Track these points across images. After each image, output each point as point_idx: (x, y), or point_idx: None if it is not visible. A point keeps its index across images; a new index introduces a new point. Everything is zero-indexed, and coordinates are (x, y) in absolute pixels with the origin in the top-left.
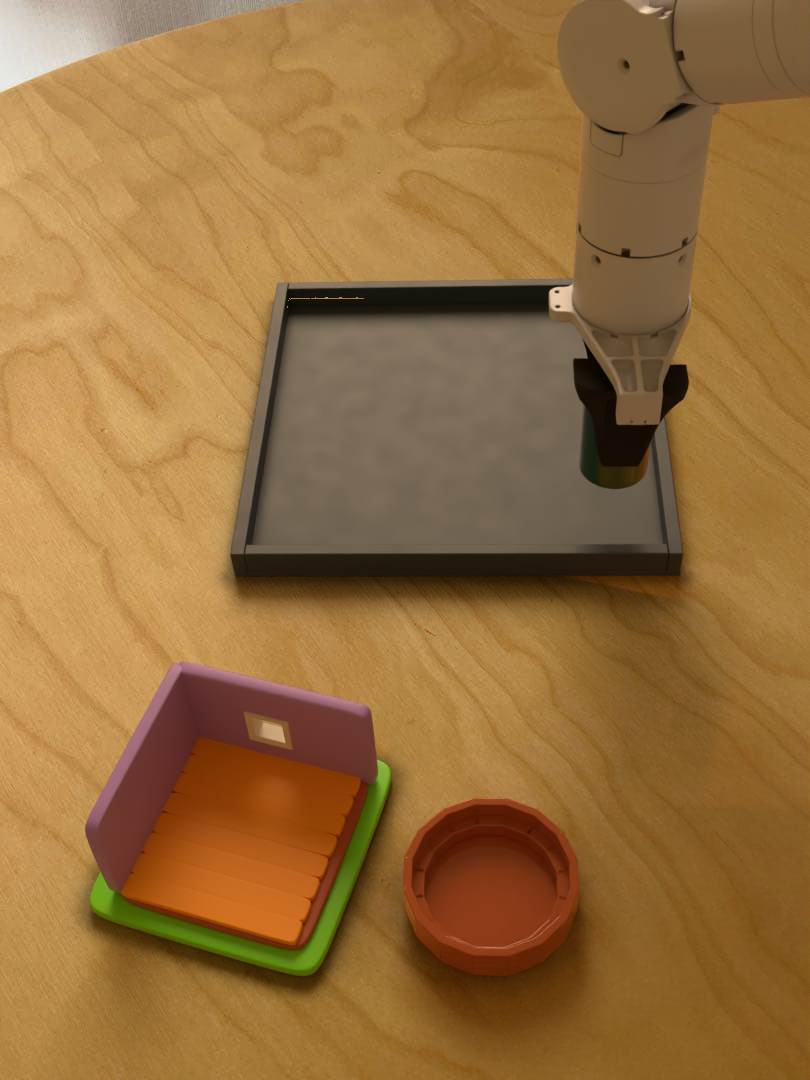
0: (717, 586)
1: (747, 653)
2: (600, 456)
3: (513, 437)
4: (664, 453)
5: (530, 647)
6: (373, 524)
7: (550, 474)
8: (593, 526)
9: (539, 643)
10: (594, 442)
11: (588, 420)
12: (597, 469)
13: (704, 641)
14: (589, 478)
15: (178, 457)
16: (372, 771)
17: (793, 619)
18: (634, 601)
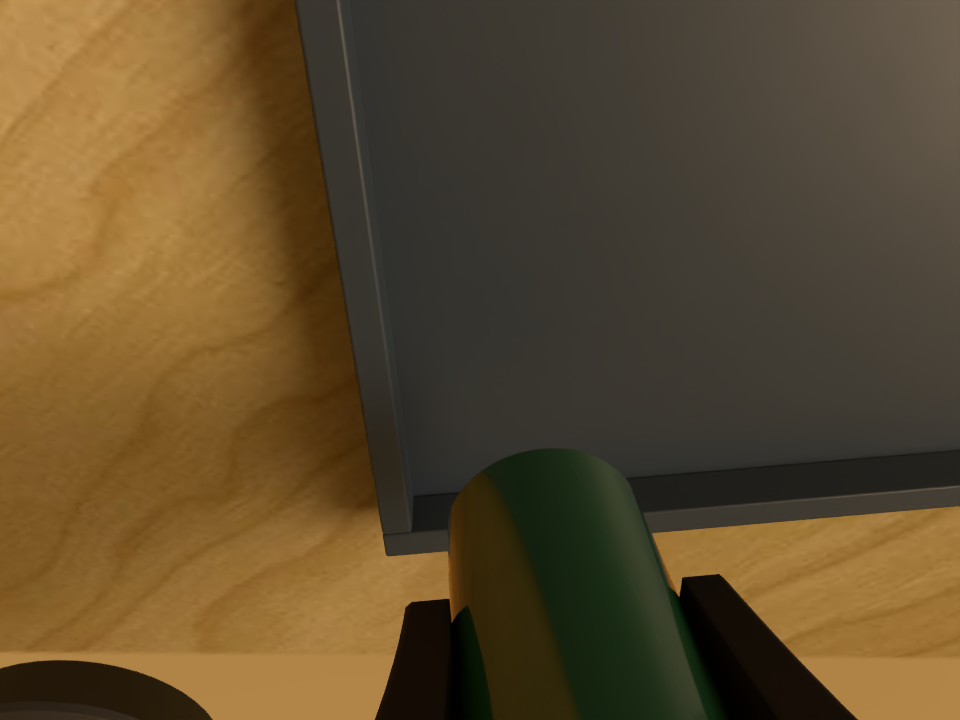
0: (374, 559)
1: (229, 595)
2: (399, 643)
3: (832, 170)
4: (679, 523)
5: (122, 243)
6: None
7: (679, 272)
8: (503, 370)
9: (141, 263)
10: (480, 618)
11: (524, 673)
12: (462, 539)
13: (238, 543)
14: (476, 482)
15: None
16: None
17: (318, 646)
18: (312, 440)
